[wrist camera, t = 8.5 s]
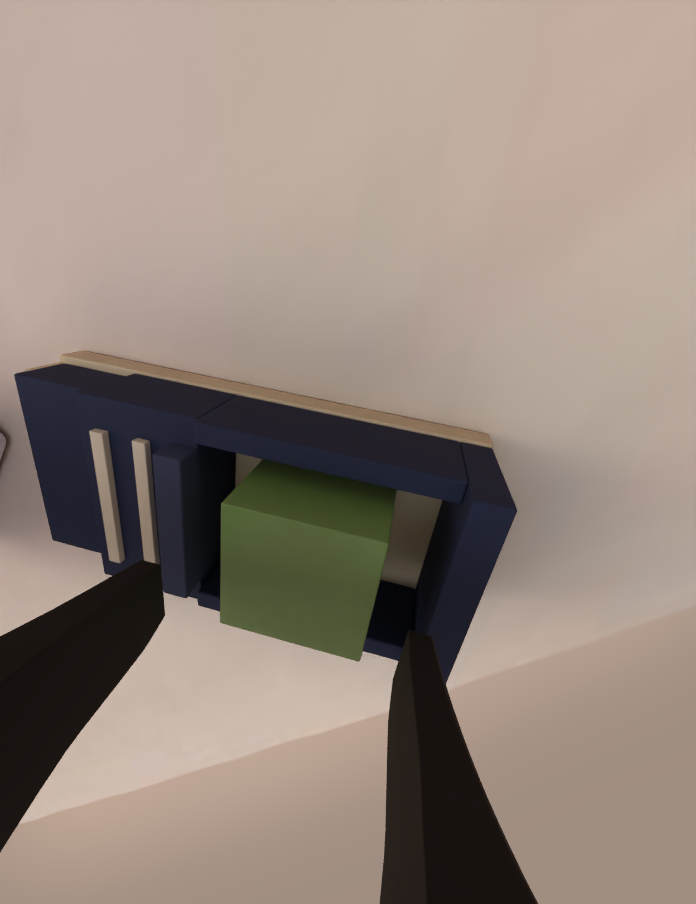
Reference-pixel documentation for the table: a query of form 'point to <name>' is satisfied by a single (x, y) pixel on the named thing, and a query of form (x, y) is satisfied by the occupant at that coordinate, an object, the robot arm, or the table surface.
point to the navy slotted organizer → (234, 456)
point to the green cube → (304, 556)
